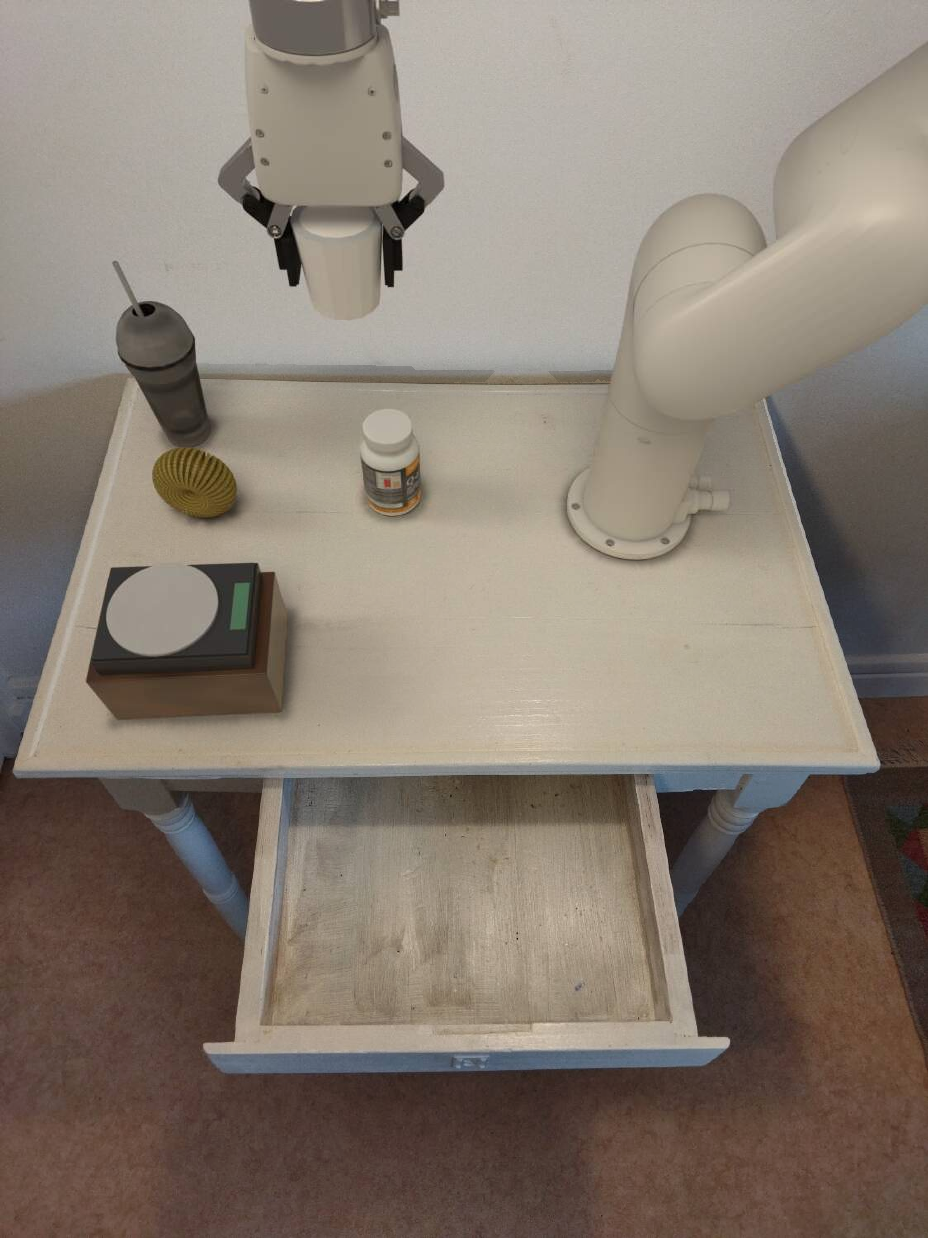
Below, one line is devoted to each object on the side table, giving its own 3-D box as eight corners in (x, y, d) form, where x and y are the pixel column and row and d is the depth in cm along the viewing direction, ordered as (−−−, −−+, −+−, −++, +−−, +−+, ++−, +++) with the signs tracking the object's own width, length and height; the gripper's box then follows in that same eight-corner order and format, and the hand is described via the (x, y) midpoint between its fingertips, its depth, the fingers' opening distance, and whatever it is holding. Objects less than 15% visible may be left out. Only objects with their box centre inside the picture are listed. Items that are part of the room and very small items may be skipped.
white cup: (374, 331, 62) (367, 249, 56) (291, 317, 63) (276, 234, 57) (397, 280, 66) (393, 197, 60) (319, 266, 66) (307, 183, 60)
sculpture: (249, 500, 80) (232, 443, 74) (238, 530, 78) (219, 475, 72) (173, 490, 81) (149, 433, 74) (160, 520, 79) (134, 464, 72)
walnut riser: (288, 614, 73) (274, 571, 67) (281, 712, 68) (266, 674, 62) (134, 620, 72) (107, 577, 66) (116, 719, 67) (85, 681, 61)
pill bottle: (422, 517, 80) (420, 447, 71) (365, 519, 80) (357, 449, 71) (419, 475, 83) (417, 403, 74) (365, 477, 83) (356, 405, 74)
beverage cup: (204, 464, 83) (144, 297, 66) (141, 448, 84) (66, 280, 67) (234, 417, 87) (184, 248, 70) (173, 403, 88) (110, 233, 71)
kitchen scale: (262, 576, 67) (256, 558, 65) (254, 669, 62) (247, 652, 60) (118, 581, 66) (107, 563, 64) (99, 675, 62) (86, 659, 59)
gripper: (455, -13, 50) (450, 249, 65) (177, -20, 49) (238, 247, 64) (459, 41, 46) (453, 307, 61) (156, 35, 45) (226, 305, 60)
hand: (342, 274), depth 62 cm, fingers closed on white cup, 6 cm apart
